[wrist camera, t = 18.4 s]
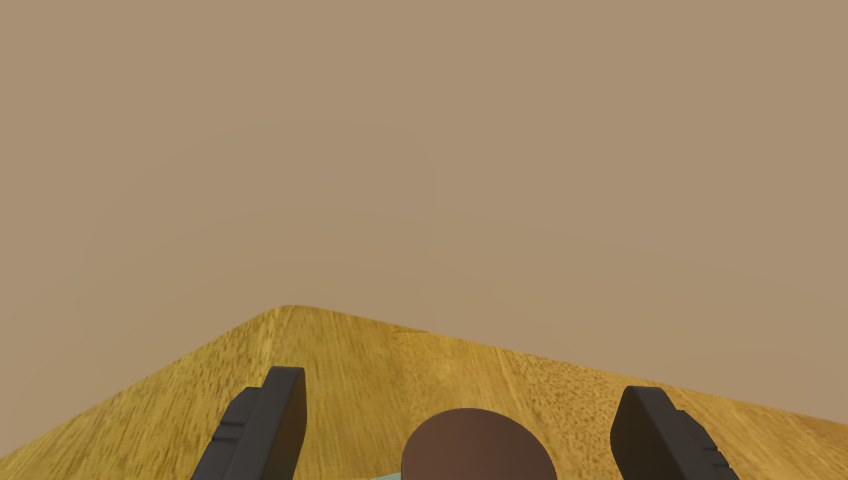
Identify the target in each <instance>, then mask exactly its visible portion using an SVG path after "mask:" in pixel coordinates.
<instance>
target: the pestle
mask: <svg viewBox="0 0 848 480" xmlns="http://www.w3.org/2000/svg"><path fill="white" fill-rule="evenodd" d="M400 480H557V476H556V472H555V469H554V466H553V463H552V461H551V459H550V457H549V455H548V453H547V451H546V450H545V448H544V447H543V445H542V444H541V443H540V442H539V441H538V439H537V438H536V437H535V436H534V435H533V434H532V433H531V432H530V431H528V430H527V429H526V428H524V427H523V426H522V425H520V424H519V423H517V422H515V421H514V420H512V419H510V418H508V417H506V416H503V415H501V414H498V413H495V412H492V411H488V410H483V409H475V408H460V409H453V410H448V411H445V412H442V413H439V414H437V415H434V416H432V417H431V418H429V419H427V420H426V421H424V422H423V423H422V424H421V425H420V426H419V427H418V428H417V429H416V430H415V431H414V432H413V433H412V435H411V437H410V438H409V440H408V442H407V444H406V446H405V448H404V452H403V455H402V463H401V479H400Z"/></svg>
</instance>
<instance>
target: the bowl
mask: <svg viewBox="0 0 848 480" xmlns="http://www.w3.org/2000/svg"><path fill="white" fill-rule="evenodd" d="M400 479H401V472H398V473H394V474H390V475H386V476H382V477H377V478H373V479H369V480H400Z"/></svg>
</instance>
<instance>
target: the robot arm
mask: <svg viewBox="0 0 848 480" xmlns="http://www.w3.org/2000/svg"><path fill="white" fill-rule="evenodd" d="M306 424H307V402H306V385H305V371H304V368H302V367H283V366H272V367H271V369H270V370H269V372H268V375H267V377H266V379H265V381H264V384H263V386H262V388H259V387H246V388H245V389H244V390H243V391H242V392H241V393H240V394H239V395H238V396H237V397H235V398H234V399H233V400H232V401H231V402H230V403H229V405H228V407H227V409H226V411H225V413H224V415H223V417H222V419H221V421H220V425H219V426H218V427H217V429H216V431H215V432H214V434H213V436H212V441H211V442H209V444H208V446H207V448H206V450H205V452H204V454H203V456H202V458H201V460H200V462H199V464H198V466H197V467H196V469H195V471H194V473H193V475H192V477H191V479H190V480H292V479H293V475H294V472H295V468H296V465H297V461H298V458H299V454H300V451H301V448H302V444H303V441H304V437H305V431H306ZM610 444H611V450H612V453H613V456H614V459H615V461H616V463H617V466H618V468H619V470H620V472H621V475H622V477H623V479H624V480H740V479H739V478H738V476H737V475H736V473H735V472H734V470H733V469H732V468H729V463H728V462H727V460H726V459H725V457H724V456H723V455H722V453H721V452H720V451H718V450H717V448H718V447H717V446H716V445H715V443H714V442H713V440H712V439H711V437H710V436H709V434H708V433H707V432H706V430H705V429H704V427H702V426H701V425H700V424H699V423H698V422H697V421H695V420H694V419H693V418H692V417H691V416H690V415H688V414H687V413H686V412H685V411H684V410H676V408H675V407H674V405H673V403H672V402H671V400H670V399H669V397H668V396H667V394H666V393H665V392H664V390H663V389H661V388H659V387H643V386H627V387H626V388H625V390H624V392H623V395H622V398H621V401H620V404H619V407H618V410H617V413H616V416H615V419H614V422H613V425H612V428H611V433H610Z"/></svg>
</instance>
